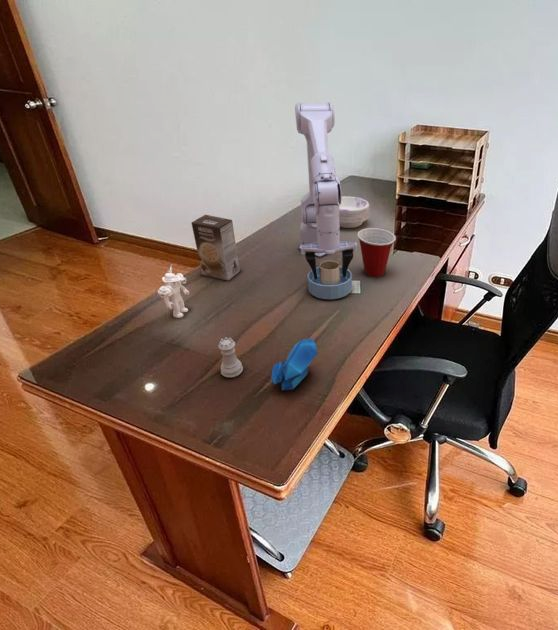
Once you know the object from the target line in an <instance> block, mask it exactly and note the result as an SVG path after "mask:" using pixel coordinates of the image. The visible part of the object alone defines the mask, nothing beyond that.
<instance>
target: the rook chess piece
mask: <svg viewBox="0 0 558 630" xmlns="http://www.w3.org/2000/svg"><path fill="white" fill-rule="evenodd" d="M235 346H236V342H235V341H234V340H233V339H232V337H227V336H225V337H224V338H221V339H220V341H219V344H218V346H217V347H218V349H219V350H220V354H221V355H222V362H221V365H220V374H221V375H222V376H223V377H225V378H229V379H232V378H236V377H239V376H240V375H241V374H242V372H243V370H244V366H243V363H242V362H241V361H240V360H239V358H238V357H237V355H236V348H235Z"/></svg>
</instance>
